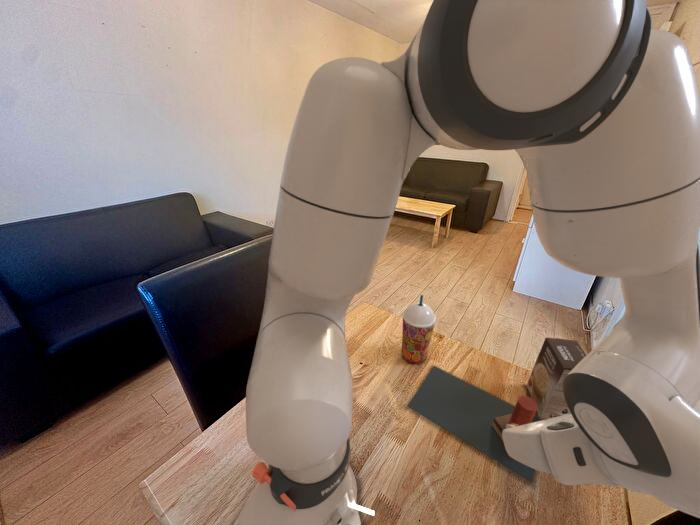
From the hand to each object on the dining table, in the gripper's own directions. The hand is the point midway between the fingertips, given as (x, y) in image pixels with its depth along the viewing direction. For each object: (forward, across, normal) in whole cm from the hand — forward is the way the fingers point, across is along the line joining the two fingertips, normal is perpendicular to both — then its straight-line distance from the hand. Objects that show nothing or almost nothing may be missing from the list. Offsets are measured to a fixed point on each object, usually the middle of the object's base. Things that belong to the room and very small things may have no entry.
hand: (532, 423), depth 52 cm
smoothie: (+26, +10, -14) cm, 31 cm away
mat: (+12, +4, 0) cm, 13 cm away
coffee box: (+12, -14, +1) cm, 18 cm away
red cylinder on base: (+7, 0, +4) cm, 8 cm away
